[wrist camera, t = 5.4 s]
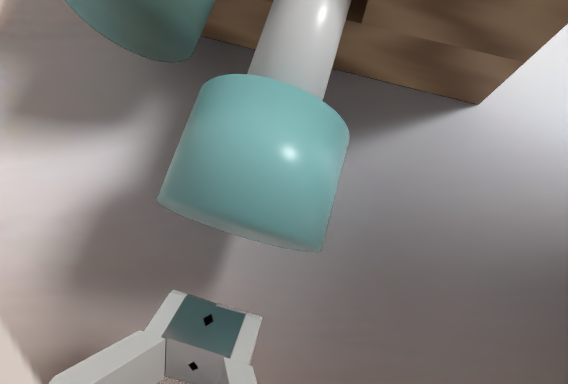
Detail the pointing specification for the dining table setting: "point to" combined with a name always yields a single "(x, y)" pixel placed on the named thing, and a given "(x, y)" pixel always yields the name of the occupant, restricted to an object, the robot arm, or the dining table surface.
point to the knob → (267, 136)
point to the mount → (356, 36)
